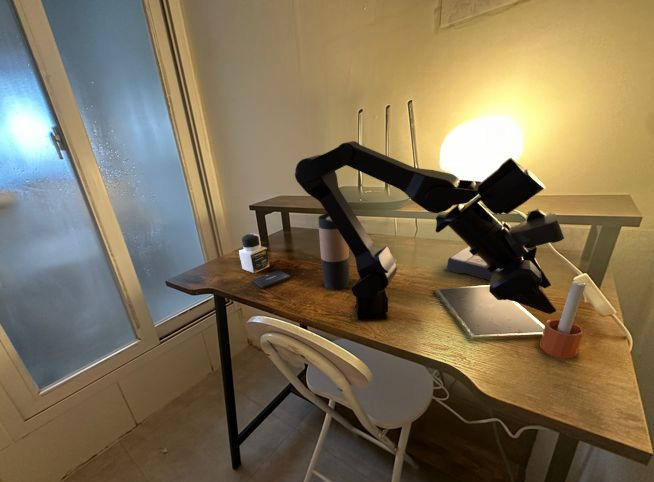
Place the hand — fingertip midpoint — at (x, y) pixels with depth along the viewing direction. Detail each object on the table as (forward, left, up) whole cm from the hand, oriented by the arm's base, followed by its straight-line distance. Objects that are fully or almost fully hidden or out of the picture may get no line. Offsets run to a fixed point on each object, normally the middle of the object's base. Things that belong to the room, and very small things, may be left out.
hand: (550, 298), depth 51 cm
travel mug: (-34, +30, -10) cm, 47 cm away
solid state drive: (-54, +36, -10) cm, 66 cm away
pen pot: (+2, -1, -10) cm, 10 cm away
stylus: (+2, -1, -10) cm, 10 cm away
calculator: (+6, +32, -10) cm, 34 cm away
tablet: (-3, +12, -10) cm, 16 cm away
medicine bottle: (-61, +47, -10) cm, 78 cm away
